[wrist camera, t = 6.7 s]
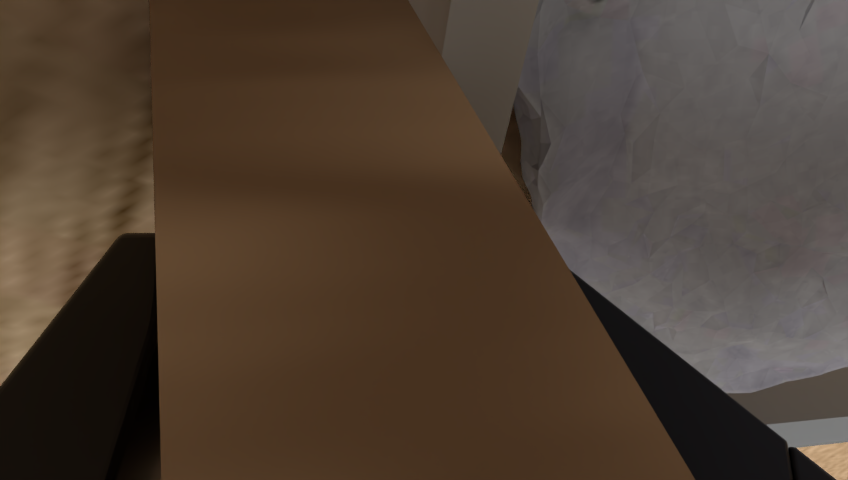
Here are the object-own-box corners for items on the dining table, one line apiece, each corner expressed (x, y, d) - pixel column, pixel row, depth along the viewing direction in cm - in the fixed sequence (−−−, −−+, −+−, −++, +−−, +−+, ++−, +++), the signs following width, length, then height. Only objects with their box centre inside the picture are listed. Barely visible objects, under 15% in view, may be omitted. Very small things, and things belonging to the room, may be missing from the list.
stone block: (586, 275, 19) (1036, 136, 16) (627, 448, 16) (1206, 310, 13) (359, -199, 11) (1150, -632, 8) (343, -61, 8) (1667, -714, 5)
